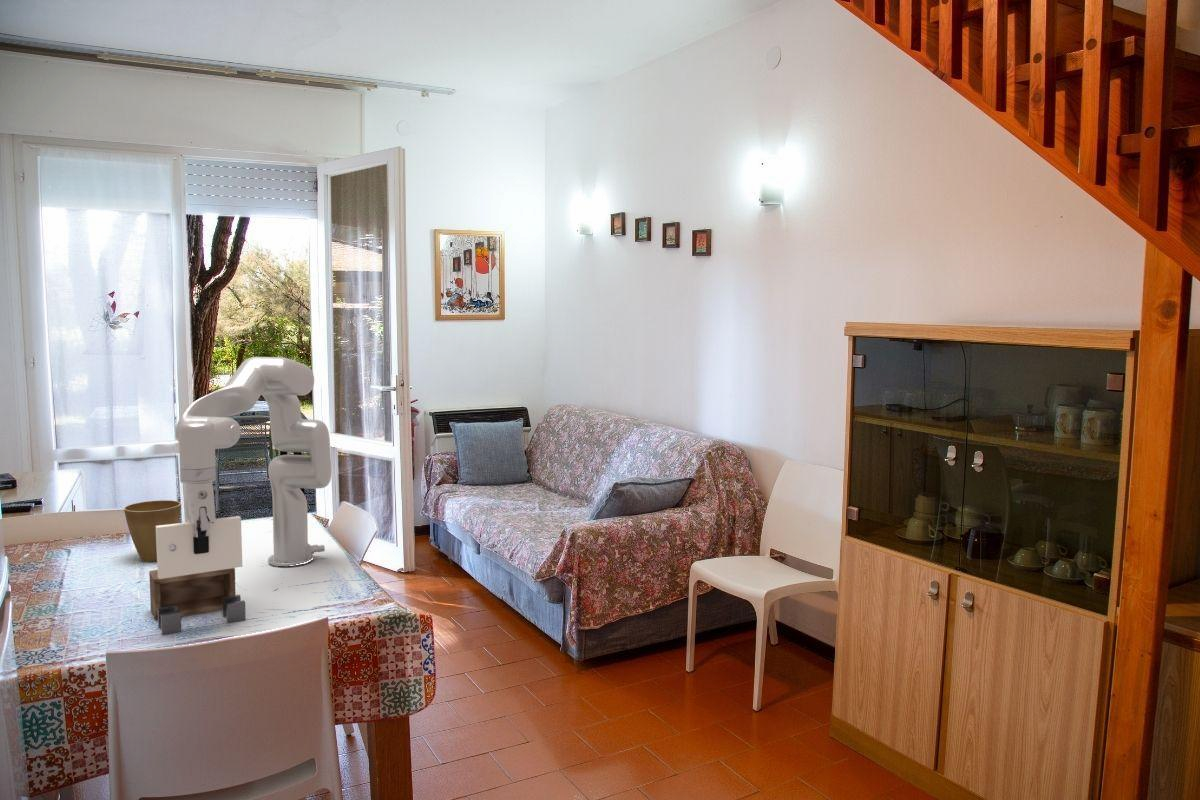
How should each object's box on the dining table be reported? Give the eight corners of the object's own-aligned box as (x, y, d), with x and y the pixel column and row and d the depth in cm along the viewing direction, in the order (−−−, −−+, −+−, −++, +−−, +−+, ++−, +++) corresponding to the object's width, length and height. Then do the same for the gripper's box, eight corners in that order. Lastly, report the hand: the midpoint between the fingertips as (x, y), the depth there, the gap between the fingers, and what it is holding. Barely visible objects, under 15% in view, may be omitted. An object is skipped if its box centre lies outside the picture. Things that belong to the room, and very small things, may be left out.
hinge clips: (239, 612, 211) (239, 594, 211) (245, 619, 206) (245, 601, 206) (158, 626, 201) (157, 607, 200) (162, 634, 196) (161, 615, 196)
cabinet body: (228, 597, 221) (227, 559, 220) (235, 606, 215) (234, 568, 214) (150, 610, 211) (149, 570, 210) (155, 620, 205) (154, 579, 204)
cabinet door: (240, 564, 208) (239, 515, 207) (243, 567, 206) (241, 518, 205) (157, 576, 198) (155, 525, 197) (159, 580, 196) (157, 528, 194)
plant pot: (191, 551, 261) (190, 499, 259) (168, 566, 246) (166, 511, 245) (141, 550, 261) (139, 499, 259) (115, 565, 246) (113, 510, 244)
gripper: (222, 478, 195) (224, 557, 197) (208, 467, 208) (210, 541, 210) (186, 482, 191) (188, 562, 193) (174, 470, 204) (177, 545, 206)
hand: (200, 551), depth 202 cm, fingers closed on cabinet door, 2 cm apart
